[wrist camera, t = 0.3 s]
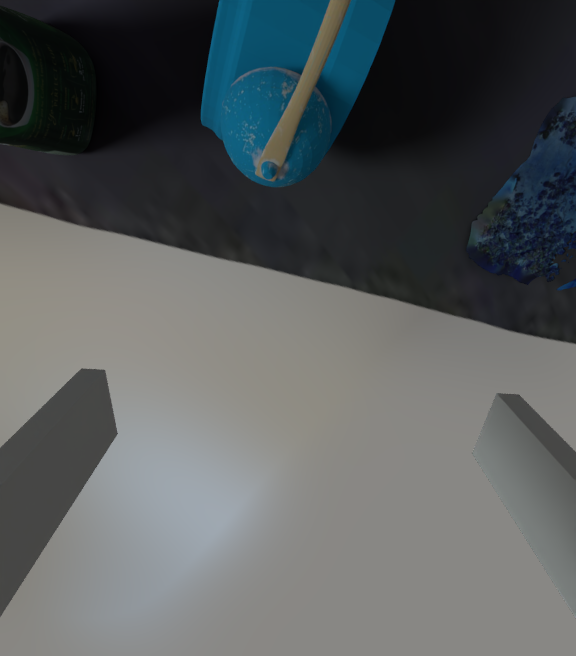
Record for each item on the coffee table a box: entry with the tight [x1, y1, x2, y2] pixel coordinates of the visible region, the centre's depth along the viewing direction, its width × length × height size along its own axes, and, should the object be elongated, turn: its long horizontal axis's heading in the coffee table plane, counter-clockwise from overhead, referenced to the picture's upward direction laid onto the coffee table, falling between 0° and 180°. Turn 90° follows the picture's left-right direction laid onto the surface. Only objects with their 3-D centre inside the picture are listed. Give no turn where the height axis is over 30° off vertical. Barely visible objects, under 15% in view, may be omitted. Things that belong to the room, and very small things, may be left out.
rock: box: [466, 97, 576, 290], centre depth 34 cm, size 15×17×2 cm
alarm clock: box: [201, 0, 395, 187], centre depth 21 cm, size 17×10×20 cm, turn 159°
